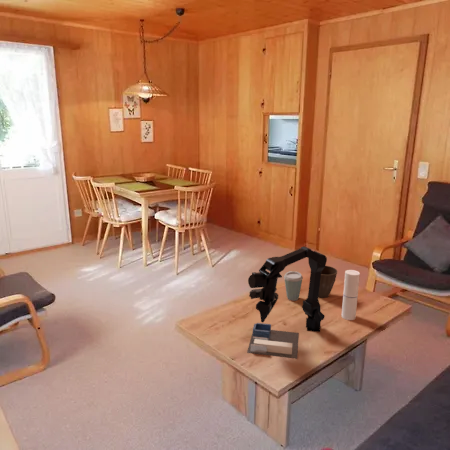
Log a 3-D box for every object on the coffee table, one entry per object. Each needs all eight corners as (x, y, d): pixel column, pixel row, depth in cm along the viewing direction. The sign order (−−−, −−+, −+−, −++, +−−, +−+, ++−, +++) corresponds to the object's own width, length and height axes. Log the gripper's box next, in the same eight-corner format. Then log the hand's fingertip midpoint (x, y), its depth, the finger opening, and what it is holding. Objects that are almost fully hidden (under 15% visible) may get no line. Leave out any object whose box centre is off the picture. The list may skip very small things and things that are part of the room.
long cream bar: (292, 350, 185) (292, 343, 184) (291, 354, 181) (292, 347, 180) (254, 345, 188) (254, 338, 187) (253, 350, 185) (253, 343, 184)
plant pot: (316, 287, 251) (318, 263, 247) (339, 294, 242) (341, 269, 238) (304, 296, 240) (306, 270, 236) (328, 303, 231) (330, 276, 227)
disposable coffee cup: (301, 303, 231) (302, 278, 227) (282, 301, 233) (283, 277, 229) (301, 295, 241) (303, 271, 237) (283, 293, 243) (284, 270, 239)
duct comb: (298, 333, 199) (299, 326, 198) (297, 359, 178) (297, 351, 177) (253, 329, 203) (253, 321, 202) (246, 353, 183) (247, 345, 182)
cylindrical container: (340, 318, 215) (343, 273, 208) (343, 312, 221) (346, 268, 214) (354, 321, 211) (358, 276, 205) (356, 315, 217) (361, 271, 211)
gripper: (258, 276, 196) (253, 307, 199) (246, 288, 179) (242, 321, 182) (280, 282, 193) (275, 312, 196) (271, 294, 175) (266, 328, 179)
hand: (264, 318), depth 188 cm, fingers open, 9 cm apart
